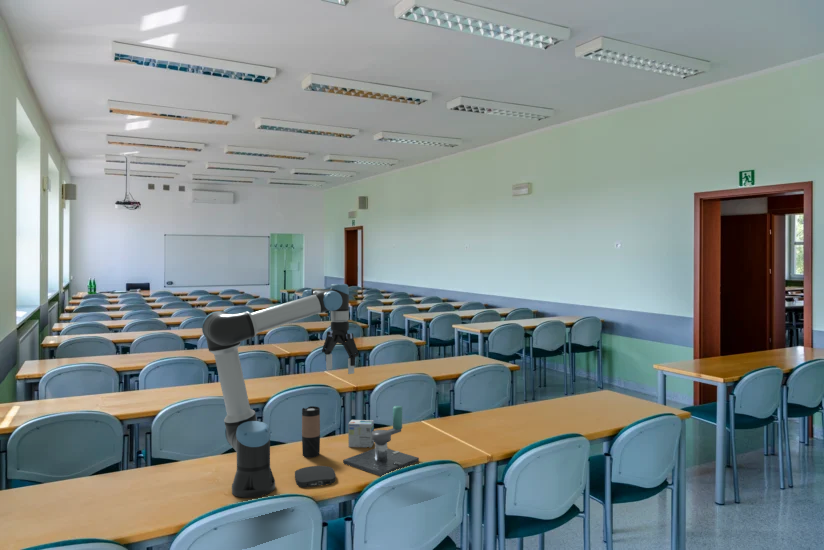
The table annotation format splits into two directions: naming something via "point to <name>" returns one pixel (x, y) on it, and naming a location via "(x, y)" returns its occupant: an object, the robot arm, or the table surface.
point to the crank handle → (385, 435)
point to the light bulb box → (360, 433)
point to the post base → (380, 465)
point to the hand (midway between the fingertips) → (340, 371)
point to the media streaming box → (315, 476)
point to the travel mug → (311, 431)
